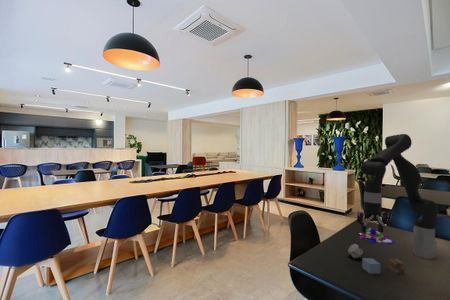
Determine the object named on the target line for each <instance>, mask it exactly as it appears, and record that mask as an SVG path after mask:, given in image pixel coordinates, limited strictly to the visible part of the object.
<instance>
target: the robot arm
mask: <svg viewBox="0 0 450 300" xmlns="http://www.w3.org/2000/svg"><path fill="white" fill-rule="evenodd" d="M412 143H413V142H412V138H411V137H410V135H408V134H407V133H401V134H399V133H398V134H395V135H389V136H386V137H385V139H384V144H385V148H384V149H382V150H380V151H379V152H377V154H376V155H374V156H373V157H371V158H368V159H367V160H365V161H363V163H362V164H361V166H360V171H361V174H363V175H365V176H374V177H373V178H372V179H367V180H365V181H364V193H363V210H364V211H363V212H362V211H357V216H356V217H357V219H356V223H357V224H359V225H360V230H361V232H362V233H366V230H367V224H369V223H370V222H377V224H378V225H377V231H378V232H380V233H381V234H384V233H383V232H384V226H385V225H388V224H389V223H388V222H389V221H388V213H387V212H385V211H382V206H383V205H382V203H383V202H382V199H383V197H382V184H383V180H384V177H385V174H386V172H387V166H388V165H389V164H390V163H391V162H392V161H393V163H394V165H395V168H396V170H397V173H398V176H399V178H400V180H401V182H402V185H403V188H404V190H405V193H406V195H407V199H408V203H409V206H410V209H411V210H412V211H413V212H414V213H416V214H418V215H422V217H421V219H415V220H413V239H412V241H413V244H412V245H413V246H412V247H413V248H412V250H413V252H412V253H413V255H414V256H416V257H419V258H422V259H426V260H434V259H437V241H436V235H435V234H436V225H437V221H438V211H439V210H438V209H439V208H438V204H437V203H436V202H435V201H433V200H430V199H425V198H422V197H421V195H420V193H419V188H420V187H421V184H422V181H423V180H422V176H421V174H420V171H419V169H418V168H417V166H416V165H415V164H413V163H412V162H411V161H409V160H408V159H406V158H405V157H404V156H403V155H402V153H404V152H406V151H407V150H409V149H410V148H411V146H412Z"/></svg>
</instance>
